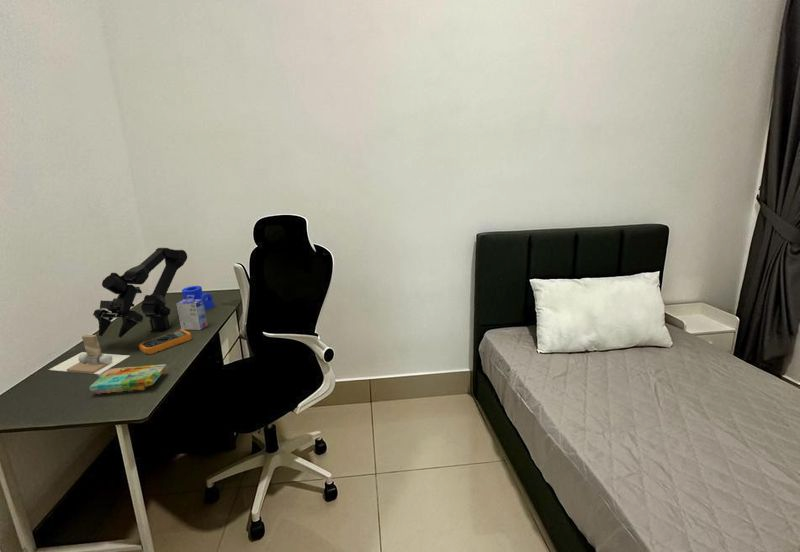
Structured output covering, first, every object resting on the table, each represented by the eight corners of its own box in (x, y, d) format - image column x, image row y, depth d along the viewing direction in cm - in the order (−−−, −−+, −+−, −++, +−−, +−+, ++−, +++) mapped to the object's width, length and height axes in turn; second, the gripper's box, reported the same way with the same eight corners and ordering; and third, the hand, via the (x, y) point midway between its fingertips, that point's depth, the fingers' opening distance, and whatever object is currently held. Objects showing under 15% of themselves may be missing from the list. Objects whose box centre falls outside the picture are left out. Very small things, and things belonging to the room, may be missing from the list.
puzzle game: (107, 367, 161) (166, 361, 162) (110, 379, 162) (169, 373, 164) (88, 384, 150) (151, 378, 151) (91, 397, 151) (154, 391, 152)
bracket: (181, 304, 233) (178, 289, 231) (198, 298, 239) (196, 284, 237) (200, 312, 220) (197, 296, 218) (218, 306, 227) (215, 291, 225)
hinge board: (82, 354, 183) (79, 344, 181) (130, 358, 177) (128, 347, 176) (49, 372, 170) (45, 361, 168) (100, 376, 164) (96, 365, 163)
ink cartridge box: (208, 325, 204) (202, 294, 199) (201, 330, 198) (194, 298, 194) (188, 324, 206) (182, 293, 201) (180, 329, 201) (173, 298, 196)
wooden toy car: (95, 360, 175) (87, 333, 171) (106, 361, 173) (98, 334, 170) (87, 364, 171) (79, 337, 168) (98, 365, 170) (90, 338, 167)
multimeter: (138, 351, 183) (136, 343, 182) (184, 335, 196) (182, 327, 195) (146, 357, 178) (144, 349, 176) (193, 340, 190) (191, 332, 189)
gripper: (90, 289, 180) (72, 327, 173) (130, 291, 175) (113, 330, 168) (112, 301, 189) (96, 338, 183) (150, 303, 185) (135, 340, 178)
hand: (109, 336), depth 178 cm, fingers open, 9 cm apart
